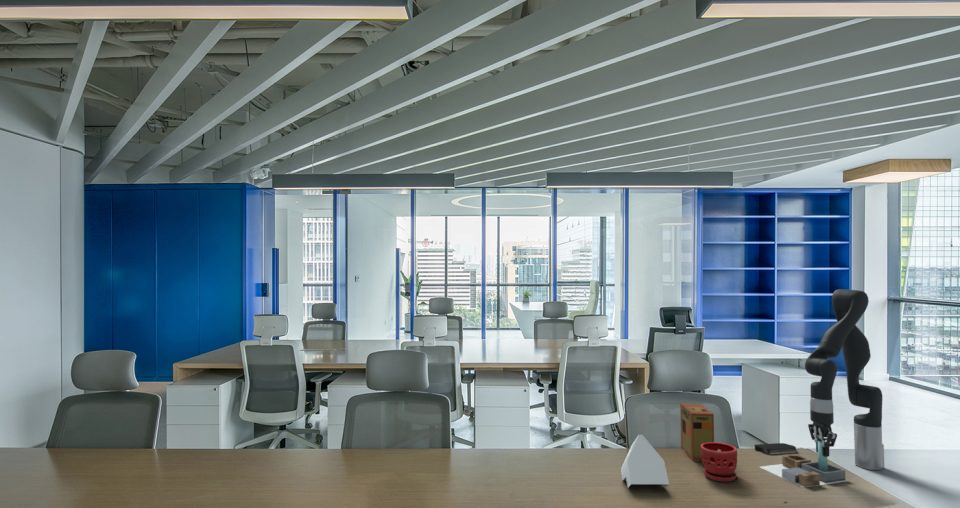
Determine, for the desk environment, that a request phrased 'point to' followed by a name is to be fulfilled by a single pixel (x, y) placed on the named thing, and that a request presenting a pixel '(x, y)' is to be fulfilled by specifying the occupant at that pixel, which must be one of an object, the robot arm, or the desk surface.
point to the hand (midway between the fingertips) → (822, 454)
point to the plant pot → (719, 461)
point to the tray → (825, 477)
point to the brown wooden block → (809, 479)
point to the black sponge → (775, 448)
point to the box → (695, 429)
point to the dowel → (822, 459)
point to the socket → (794, 461)
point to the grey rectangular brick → (792, 474)
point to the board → (778, 468)
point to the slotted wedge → (644, 465)
